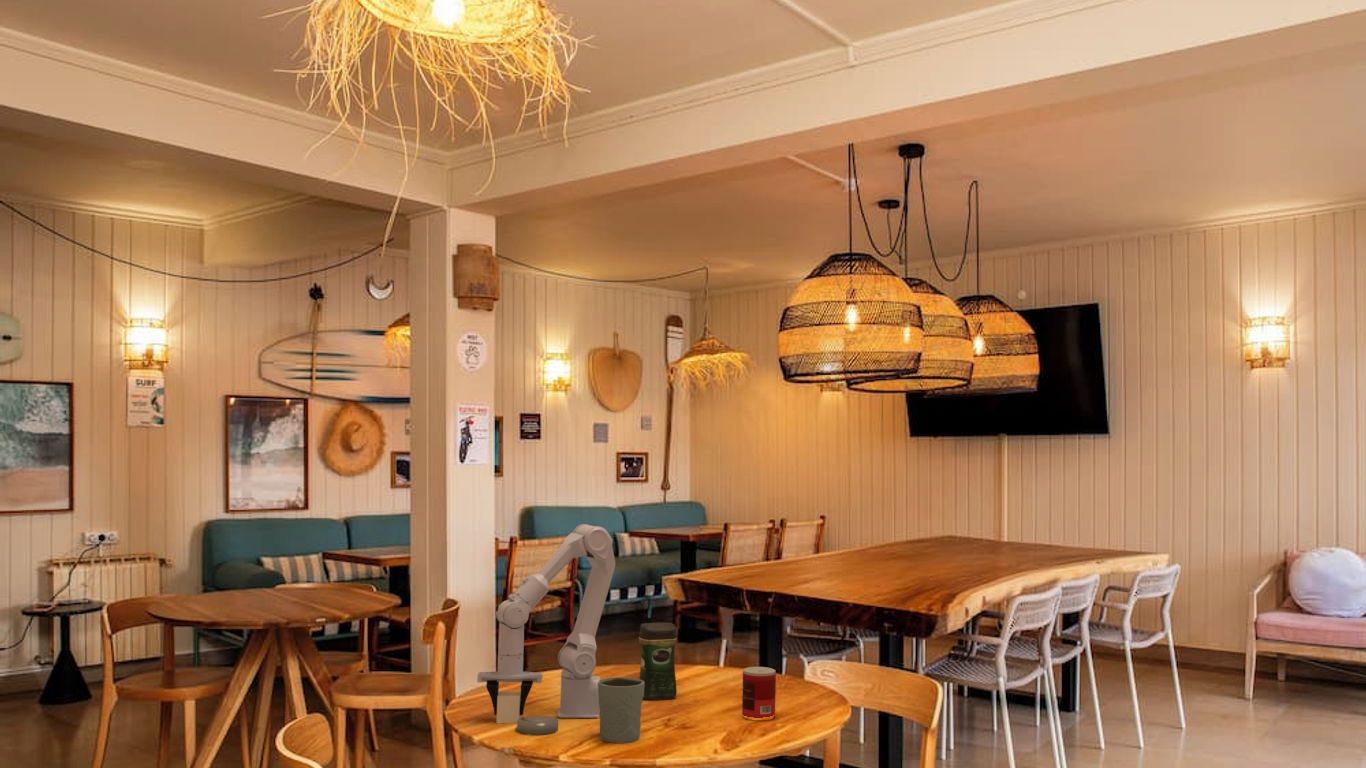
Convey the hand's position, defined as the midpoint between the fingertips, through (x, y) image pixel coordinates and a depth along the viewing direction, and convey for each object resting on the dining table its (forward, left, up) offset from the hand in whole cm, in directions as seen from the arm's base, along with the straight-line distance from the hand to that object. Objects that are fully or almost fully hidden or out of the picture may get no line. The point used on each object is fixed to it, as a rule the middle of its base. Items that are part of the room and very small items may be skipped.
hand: (508, 714), depth 242 cm
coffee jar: (-35, -24, -2) cm, 42 cm away
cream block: (0, 0, -1) cm, 1 cm away
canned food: (-58, -4, -2) cm, 58 cm away
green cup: (-25, +14, -2) cm, 29 cm away
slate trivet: (-7, +8, -1) cm, 11 cm away
